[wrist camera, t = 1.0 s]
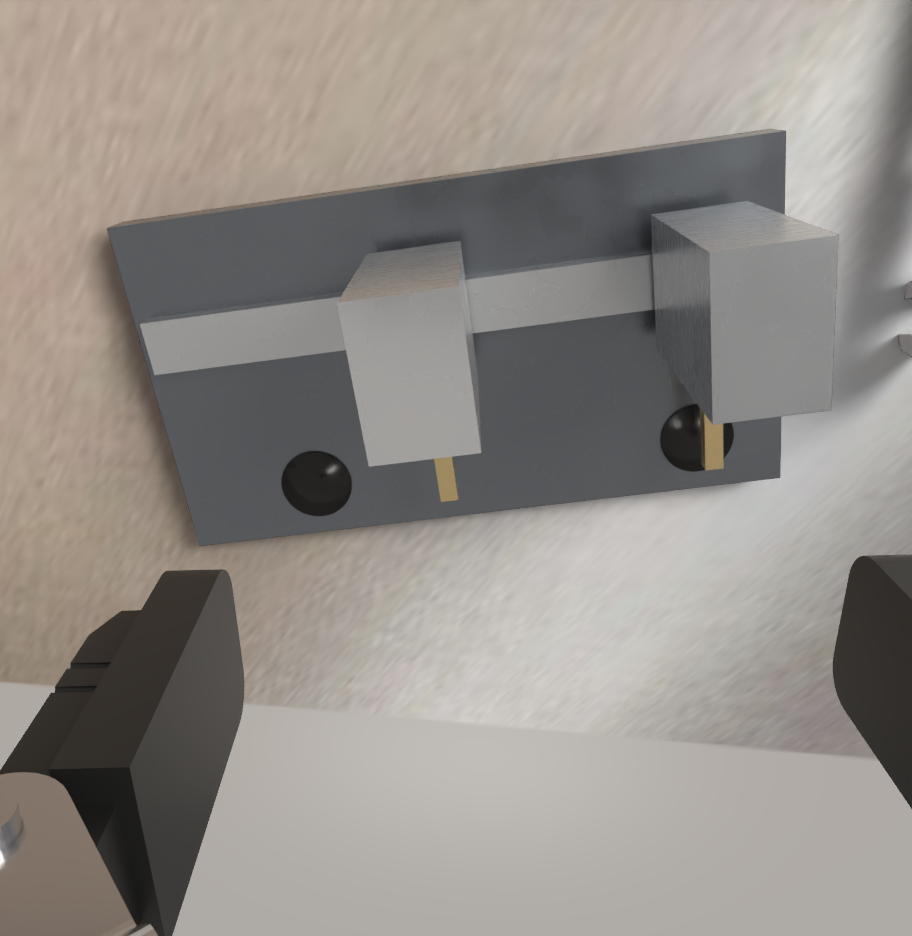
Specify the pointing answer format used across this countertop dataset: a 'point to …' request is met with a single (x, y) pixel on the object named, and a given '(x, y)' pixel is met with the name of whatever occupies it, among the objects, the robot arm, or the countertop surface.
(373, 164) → the countertop surface
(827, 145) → the countertop surface
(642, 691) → the countertop surface
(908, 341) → the caliper
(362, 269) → the leg
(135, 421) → the countertop surface
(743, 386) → the fixed leg
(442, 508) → the hole plate
